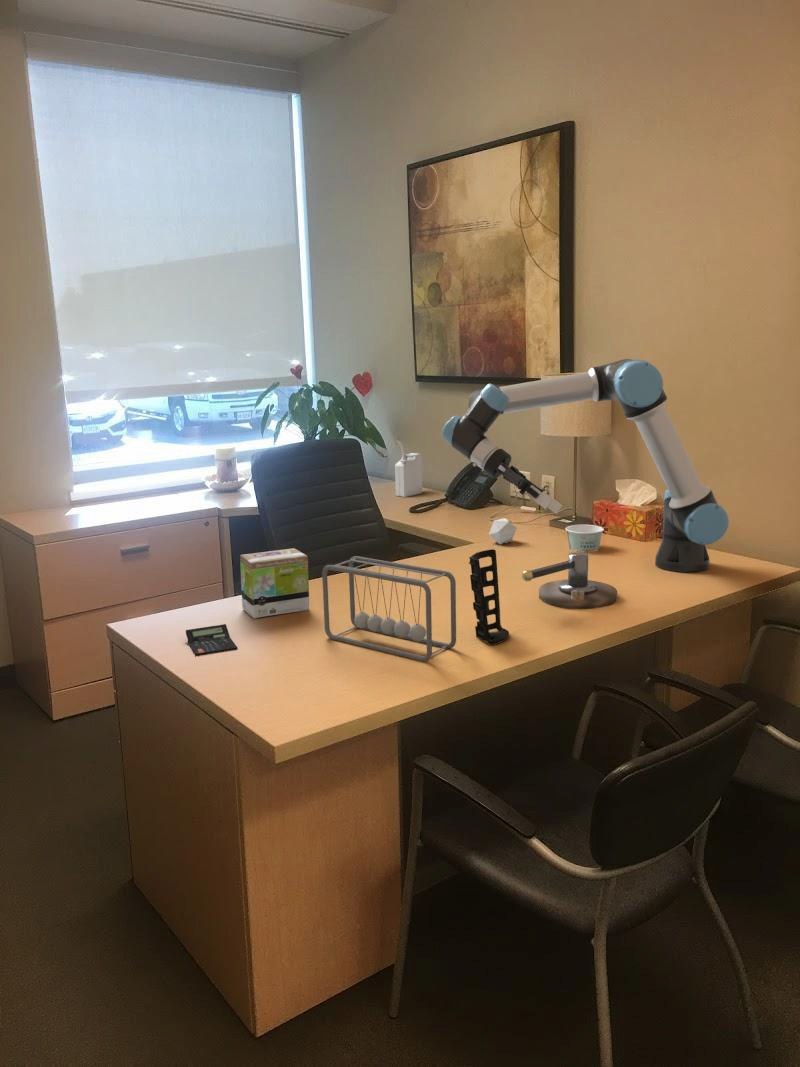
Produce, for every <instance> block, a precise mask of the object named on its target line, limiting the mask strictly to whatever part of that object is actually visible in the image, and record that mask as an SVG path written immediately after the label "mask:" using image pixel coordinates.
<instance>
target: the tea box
mask: <svg viewBox="0 0 800 1067" xmlns="http://www.w3.org/2000/svg"><path fill="white" fill-rule="evenodd" d="M239 559H240V560H239V561H240V562H239V563H240V565H239V566H240V586H241V587H240V588H241V606H242V609H243V610H244V611H245V612H246V613H247V614H248V615H249V616H250V617H251V618H253V619H259V618H263V617H269V616H276V615H284V614H290V613H297V612H304V611H305V612H306V611H309V610H310V588H309V586H310V584H309V582H310V581H309V559H308V555H306V554H305V553H303V552H301V551H300V550H298V549H296V548H294V547H293V548H286V549H278V550H269V551H263V552H262V551H261V552H254V553H246V554H245V553H244V554H240V556H239Z"/></svg>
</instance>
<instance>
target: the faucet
mask: <svg viewBox="0 0 800 1067" xmlns="http://www.w3.org/2000/svg"><path fill="white" fill-rule="evenodd" d="M566 570H567V571H568V572H567V573H568V574H567V575H568V579H564V580H565V581H562V582H560V583H559V584H558V589H559V590H560V591H563V592H566V593H571V591H574V590H576V591H577V594H578V591H584V594H588V593H593V592H595V591H597V587H598V585H597V584H596V583H594V582H592V581H593V580H591V581H588V580H589V554H588V552H579V551H573V552H569V553H568V560H566V561H562V562H557V563H555V564H554V563H553V564H551V565H546V566H543V567H540V568H539V567H538V568H535V569H532V570H529V569H525V570H524V571H523V572H522V573H521V578H522V580H523V581H524V582H531V581H532V579H536V578H540V577H545V576H548V575H552V574H555V573H559V572H562V571H566Z"/></svg>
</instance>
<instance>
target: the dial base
mask: <svg viewBox="0 0 800 1067" xmlns="http://www.w3.org/2000/svg"><path fill="white" fill-rule="evenodd" d="M565 580H566V579H559V580H553V581H549V582H546V583H543V584H542V585H540V586H539V588H538V599H539V600H540V599H541V600H542V601H541V600H540V601H541V602H543V603H545V604H547V605H550V606H554V607H558V608H563V609H569V610H570V609H573V610H593V609H600V608H606V607H609V606H612V605H614V604H615V603H616V602H617V600H618V590H617V588H616V587H614V586H612V585H611V584H609V583H605V582H601V581H596V580H589V579H588V581H592V582H594V583H596V584H597V585H598V587H597V591H595V592H593V593H588V594H584V591H578V594H577V591H576V590H574V591H571V593H566V592H563V591H560V590H559V589H558V584H559V583H560V582H562V581H565Z"/></svg>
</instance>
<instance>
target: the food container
mask: <svg viewBox="0 0 800 1067" xmlns="http://www.w3.org/2000/svg"><path fill="white" fill-rule="evenodd" d="M564 529H565V530H566V533H567V541H568V548H569V549H570V550H571V549H572V550H571V551H573V550H577V551H576V552H579V551H592V552H596V551H595V550H597V551H599V550H598V549H600V545H601V541H602V536H603V532H604V530H605V528H604V527H603V526H600V525H593V524H573V525H568V526H566V527H565V528H564Z"/></svg>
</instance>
